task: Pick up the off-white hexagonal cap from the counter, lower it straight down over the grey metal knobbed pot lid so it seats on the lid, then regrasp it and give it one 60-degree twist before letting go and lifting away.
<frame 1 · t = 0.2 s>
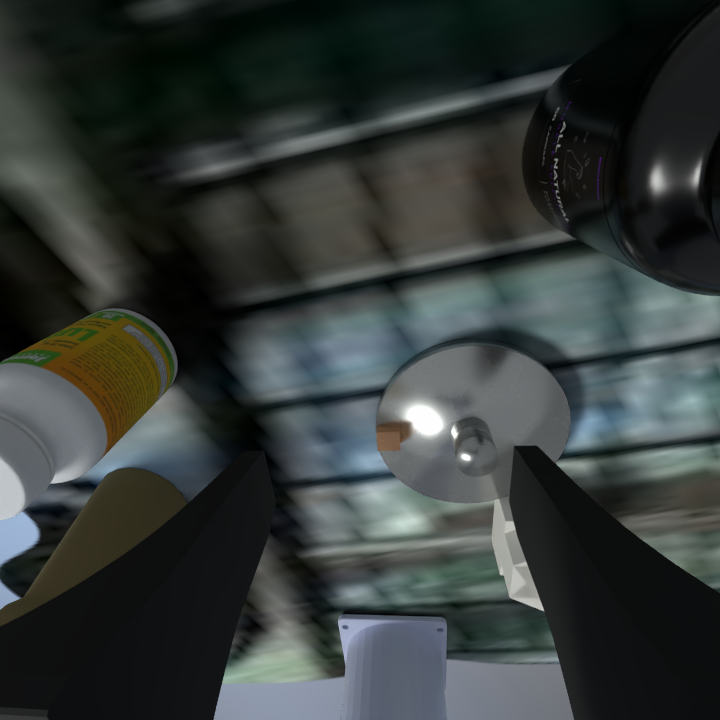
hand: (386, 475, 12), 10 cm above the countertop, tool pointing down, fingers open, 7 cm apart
knobbed pot lid: (467, 422, 23), on the countertop
supplement bottle: (604, 148, 17), on the countertop
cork: (145, 500, 28), on the countertop
supplement bottle 2: (133, 351, 23), on the countertop
cap: (530, 514, 25), on the countertop
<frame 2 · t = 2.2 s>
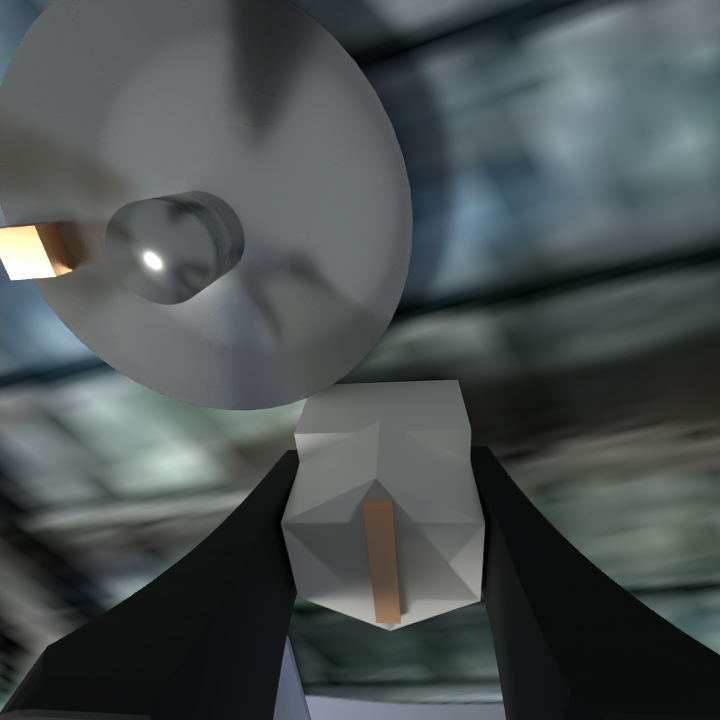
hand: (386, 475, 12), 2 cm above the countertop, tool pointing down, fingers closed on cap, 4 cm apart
knobbed pot lid: (219, 228, 11), on the countertop
cap: (387, 441, 13), on the countertop, touching gripper
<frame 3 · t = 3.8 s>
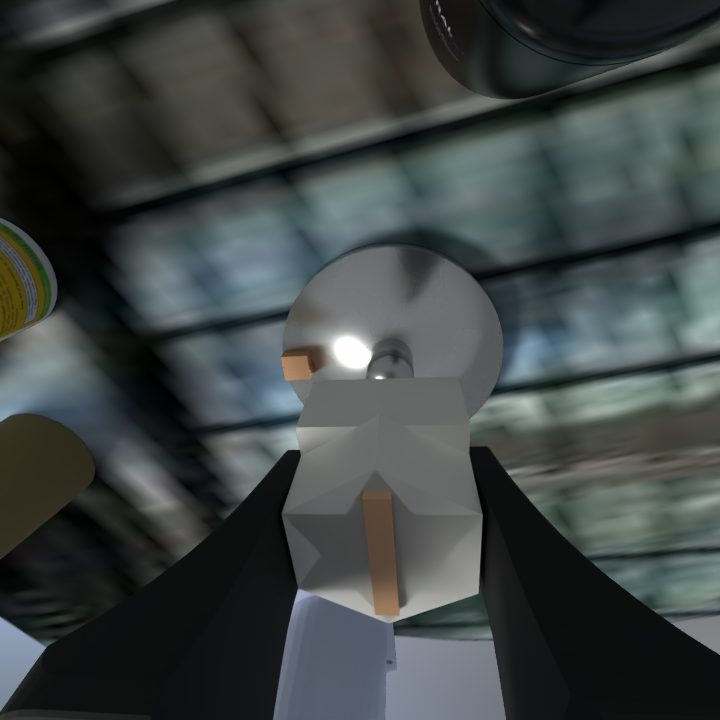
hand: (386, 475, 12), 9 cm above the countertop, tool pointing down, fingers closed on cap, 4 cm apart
knobbed pot lid: (390, 349, 20), on the countertop
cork: (47, 453, 25), on the countertop
supplement bottle 2: (9, 269, 20), on the countertop
cap: (388, 437, 14), point 7 cm above the countertop, touching gripper
when the fingers open (4 cm above the countertop, at t = 5.3 s): cap stays where it is, resting on knobbed pot lid.
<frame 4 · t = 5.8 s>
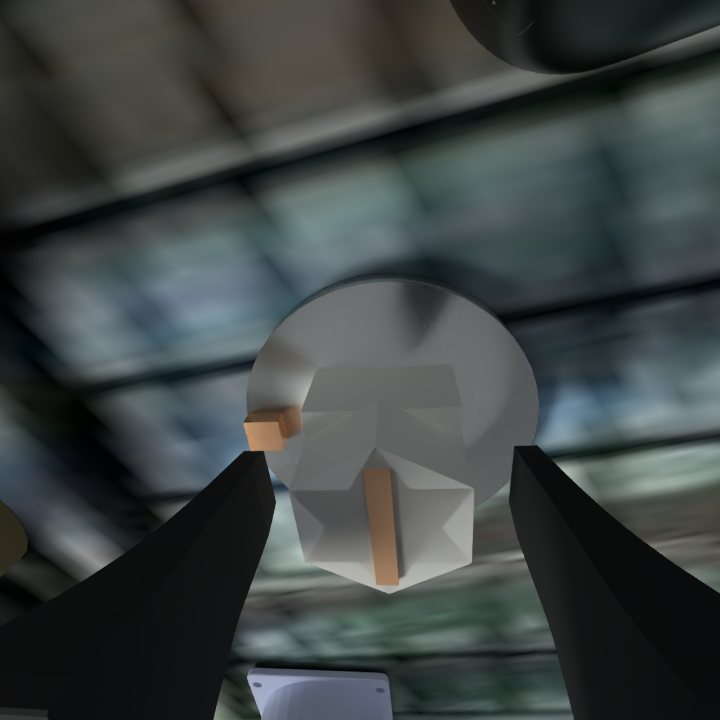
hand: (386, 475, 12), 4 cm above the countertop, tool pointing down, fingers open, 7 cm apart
knobbed pot lid: (389, 407, 15), on the countertop
cap: (386, 423, 14), point 1 cm above the countertop, touching knobbed pot lid
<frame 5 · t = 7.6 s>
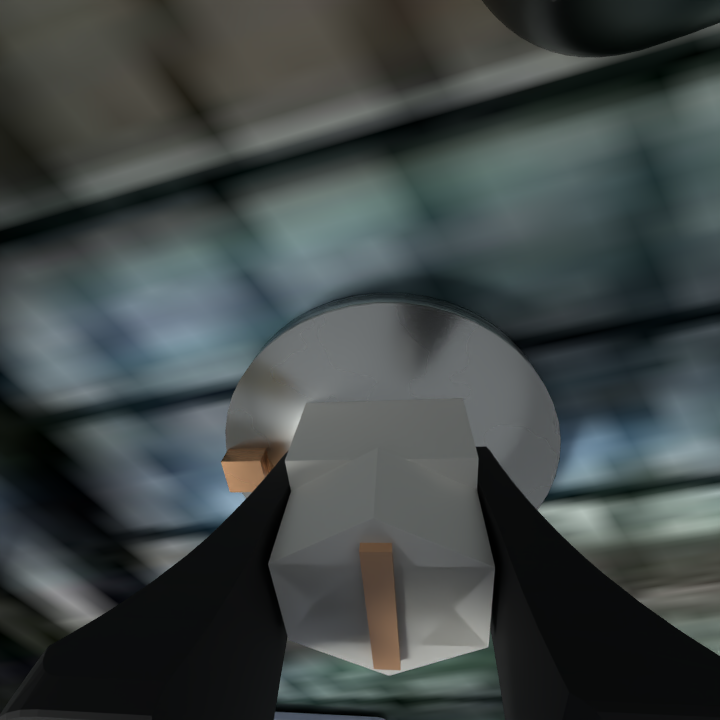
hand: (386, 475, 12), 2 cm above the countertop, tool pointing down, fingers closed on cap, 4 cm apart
knobbed pot lid: (388, 441, 13), on the countertop
cap: (387, 462, 13), point 1 cm above the countertop, touching gripper, knobbed pot lid
when the fingers open (2 cm above the countertop, at t = 9.2 s): cap stays where it is, resting on knobbed pot lid.
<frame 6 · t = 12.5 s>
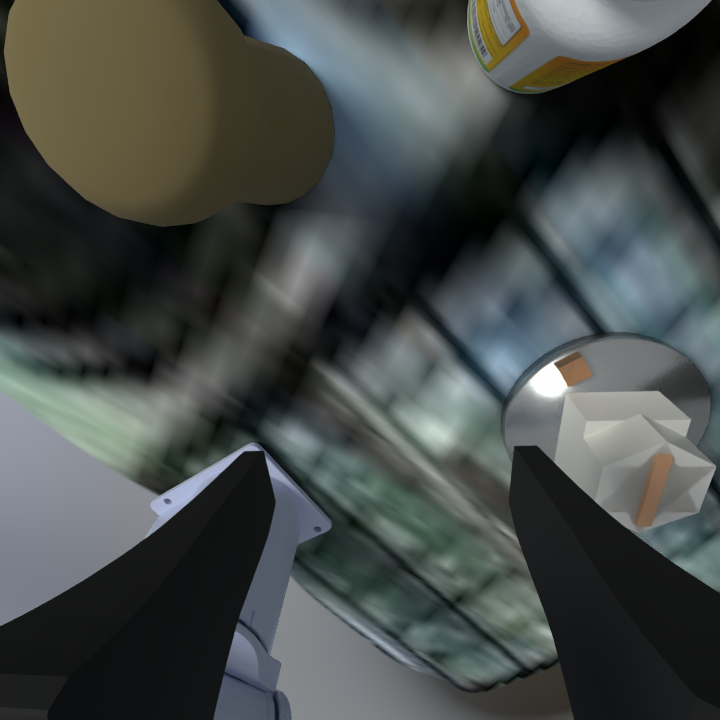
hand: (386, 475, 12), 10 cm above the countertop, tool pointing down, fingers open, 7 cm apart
knobbed pot lid: (595, 417, 23), on the countertop
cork: (265, 130, 18), on the countertop
supplement bottle 2: (537, 11, 15), on the countertop
cap: (603, 428, 22), point 1 cm above the countertop, touching knobbed pot lid
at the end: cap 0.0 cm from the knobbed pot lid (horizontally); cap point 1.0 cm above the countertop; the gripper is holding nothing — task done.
